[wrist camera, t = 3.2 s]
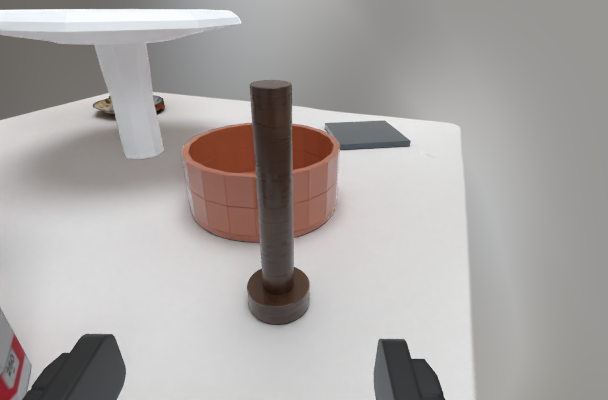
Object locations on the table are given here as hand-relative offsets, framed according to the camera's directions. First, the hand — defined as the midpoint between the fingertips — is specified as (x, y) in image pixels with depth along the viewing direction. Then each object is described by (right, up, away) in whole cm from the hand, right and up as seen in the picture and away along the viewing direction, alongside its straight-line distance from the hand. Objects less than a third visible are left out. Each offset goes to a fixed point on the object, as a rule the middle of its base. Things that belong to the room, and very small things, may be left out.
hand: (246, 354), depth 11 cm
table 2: (-20, +11, +37) cm, 43 cm away
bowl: (-2, +5, +25) cm, 26 cm away
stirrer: (0, -2, +13) cm, 13 cm away
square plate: (+11, +14, +43) cm, 47 cm away
